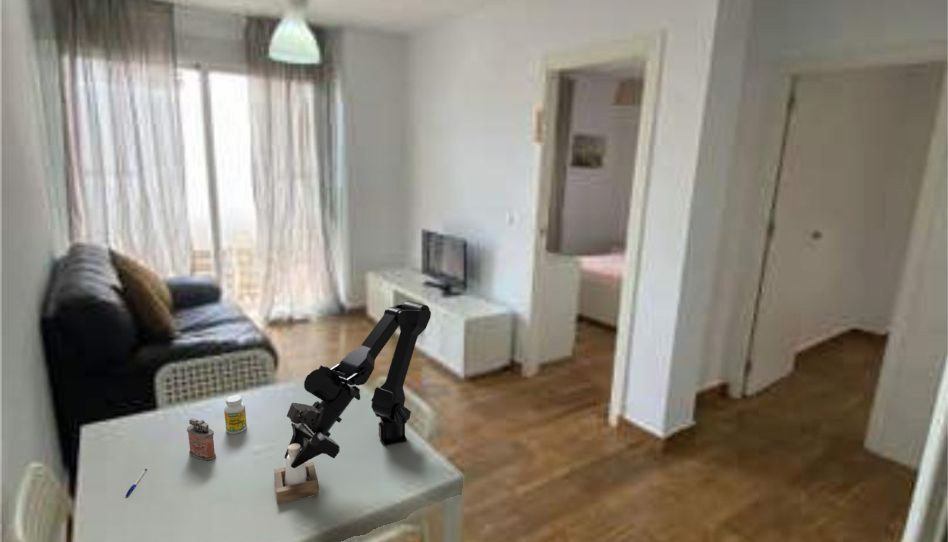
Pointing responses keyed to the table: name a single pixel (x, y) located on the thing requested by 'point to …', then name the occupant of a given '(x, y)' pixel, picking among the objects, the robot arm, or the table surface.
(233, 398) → the supplement bottle
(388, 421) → the robot arm
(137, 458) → the table surface
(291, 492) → the socket block
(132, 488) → the ballpoint pen
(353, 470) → the table surface
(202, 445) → the lighter
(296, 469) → the pepper shaker
